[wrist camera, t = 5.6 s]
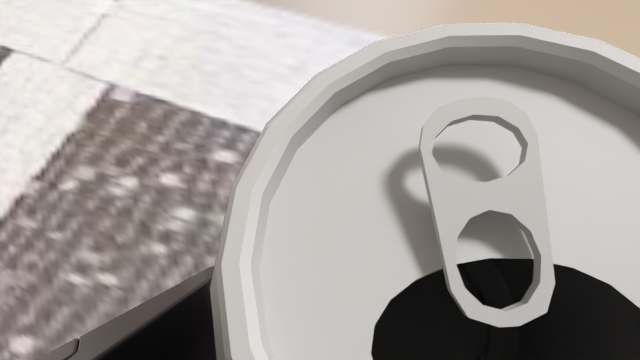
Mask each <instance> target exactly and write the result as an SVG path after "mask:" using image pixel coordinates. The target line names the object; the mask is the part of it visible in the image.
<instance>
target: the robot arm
mask: <svg viewBox="0 0 640 360" xmlns="http://www.w3.org/2000/svg"><path fill="white" fill-rule="evenodd" d="M213 271H214V267H210V268H207V269H206V270H204V271H202V272H200V273H198V274H196V275H194V276H193V277H191V278H189V279H187V280H185V281H183V282H181V283H180V284H178V285H176V286H174V287H172V288H170V289H168V290H167V291H165V292H163V293H161V294H159V295H157V296H155V297H154V298H152V299H150V300H148V301H146V302H144V303H142V304H141V305H139V306H137V307H135V308H133V309H131V310H129V311H127V312H126V313H124V314H122V315H120V316H118V317H116V318H114V319H113V320H111V321H109V322H107V323H105V324H103V325H101V326H100V327H98V328H96V329H94V330H92V331H90V332H88V333H87V334H85V335H83V336H81V337H80V338H79V339H74V340H72V341H70V342H68V343H66V344H65V345H63V346H61V347H59V348H57V349H55V350H53V351H51V352H49V353H48V354H46V355H44V356H42V357H40V358H38V359H36V360H217V357H216V347H215V336H214V326H213V315H212V305H211V294H210V286H211V281H212V276H213Z"/></svg>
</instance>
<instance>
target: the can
mask: <svg viewBox="0 0 640 360" xmlns="http://www.w3.org/2000/svg"><path fill="white" fill-rule="evenodd" d="M210 294H211V305H212V315H213V326H214V336H215V347H216V357H217V360H640V58H638V57H636V56H634V55H632V54H629V53H627V52H625V51H623V50H621V49H618V48H616V47H614V46H612V45H610V44H608V43H605V42H603V41H601V40H598V39H593V38H589V37H583V36H579V35H575V34H569V33H565V32H561V31H556V30H551V29H547V28H542V27H537V26H532V25H528V24H523V23H465V24H464V23H463V24H462V23H461V24H442V25H438V26H434V27H430V28H426V29H422V30H418V31H414V32H410V33H407V34H403V35H399V36H395V37H391V38H387V39H383V40H379V41H376V42H374V43H372V44H370V45H368V46H367V47H365V48H363V49H361V50H359V51H358V52H356V53H354V54H352V55H350V56H349V57H347V58H345V59H343V60H341V61H339V62H338V63H336V64H334V65H332V66H330V67H329V68H327V69H325V70H323V71H321V72H320V73H318V74H316V75H315V76H314V77H313V78H312V79H311V80H310V81H309V82H308V83H307V84H306V85H305V86H304V87H303V88H302V89H301V90H300V91H299V92H298V93H297V94H296V95H295V96H294V97H293V98H292V99H291V100H290V101H289V102H288V103H287V104H286V105H285V106H284V107H283V108H282V109H281V110H280V111H279V112H278V113H277V114H276V115H275V116H274V117H273V118H272V119H271V120H269V121H268V122H267V123H266V125H265V127H264V129H263V131H262V133H261V134H260V136H259V138H258V140H257V142H256V144H255V146H254V147H253V149H252V151H251V153H250V155H249V157H248V158H247V160H246V162H245V164H244V166H243V168H242V169H241V171H240V173H239V175H238V177H237V179H236V180H235V182H234V184H233V186H232V188H231V193H230V197H229V202H228V207H227V211H226V213H225V217H224V222H223V227H222V232H221V237H220V241H219V246H218V251H217V256H216V261H215V266H214V271H213V276H212V281H211V286H210Z"/></svg>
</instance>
